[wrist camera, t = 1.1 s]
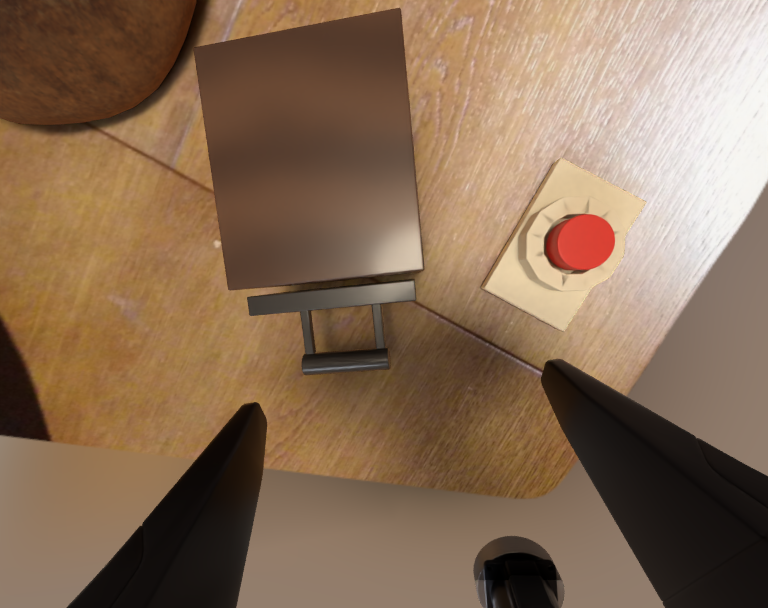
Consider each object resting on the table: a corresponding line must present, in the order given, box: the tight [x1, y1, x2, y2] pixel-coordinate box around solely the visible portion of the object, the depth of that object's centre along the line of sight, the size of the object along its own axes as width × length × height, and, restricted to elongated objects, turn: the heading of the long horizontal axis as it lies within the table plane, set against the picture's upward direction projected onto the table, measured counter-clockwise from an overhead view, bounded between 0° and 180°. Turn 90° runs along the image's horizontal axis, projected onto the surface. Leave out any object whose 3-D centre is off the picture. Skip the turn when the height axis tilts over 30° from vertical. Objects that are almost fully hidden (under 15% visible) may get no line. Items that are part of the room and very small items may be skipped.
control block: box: [481, 158, 647, 331], centre depth 23 cm, size 11×7×3 cm, turn 152°
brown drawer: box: [247, 279, 416, 375], centre depth 22 cm, size 17×10×7 cm, turn 6°
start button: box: [546, 214, 615, 270], centre depth 21 cm, size 4×4×2 cm
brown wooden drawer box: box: [194, 8, 424, 290], centre depth 21 cm, size 14×12×9 cm
